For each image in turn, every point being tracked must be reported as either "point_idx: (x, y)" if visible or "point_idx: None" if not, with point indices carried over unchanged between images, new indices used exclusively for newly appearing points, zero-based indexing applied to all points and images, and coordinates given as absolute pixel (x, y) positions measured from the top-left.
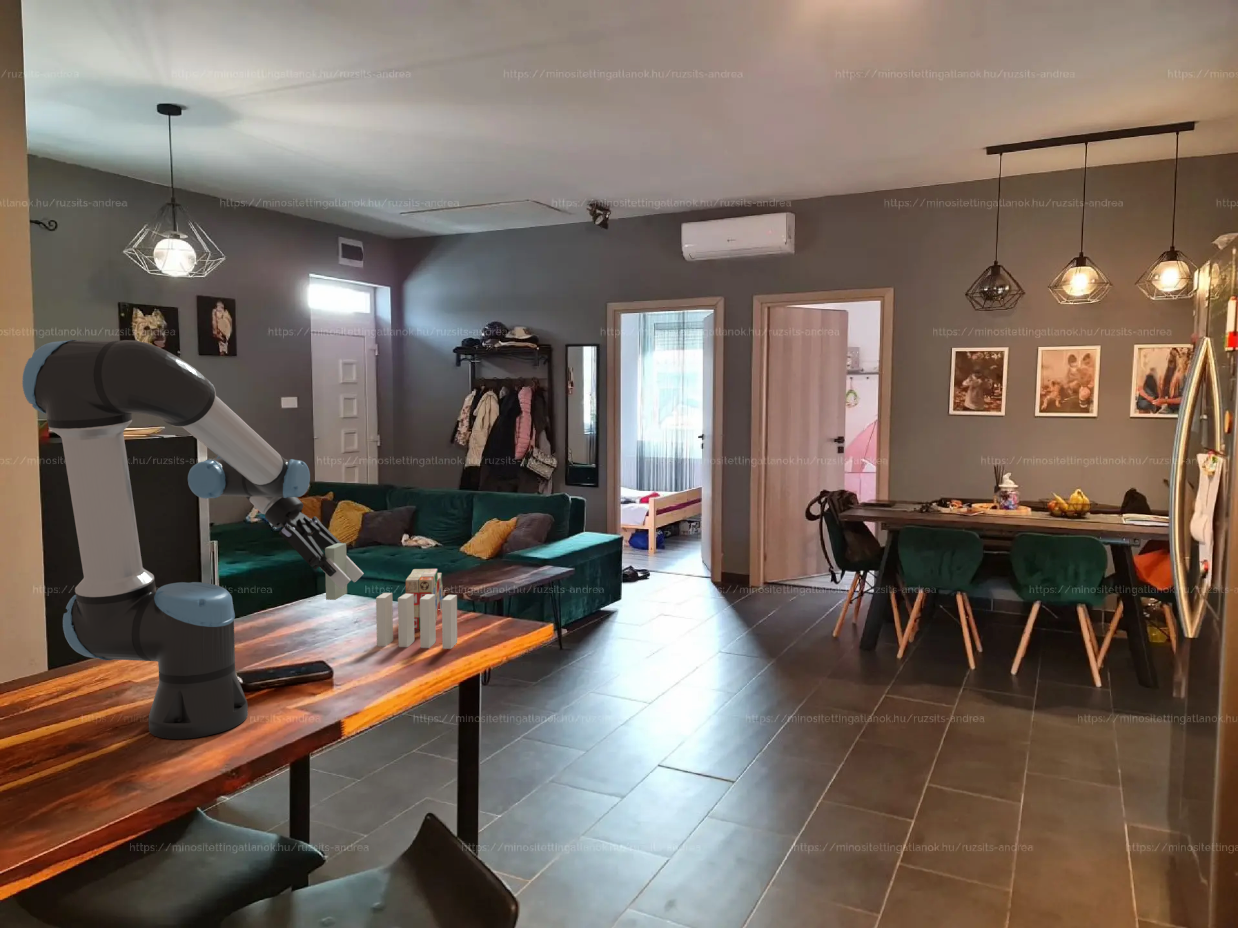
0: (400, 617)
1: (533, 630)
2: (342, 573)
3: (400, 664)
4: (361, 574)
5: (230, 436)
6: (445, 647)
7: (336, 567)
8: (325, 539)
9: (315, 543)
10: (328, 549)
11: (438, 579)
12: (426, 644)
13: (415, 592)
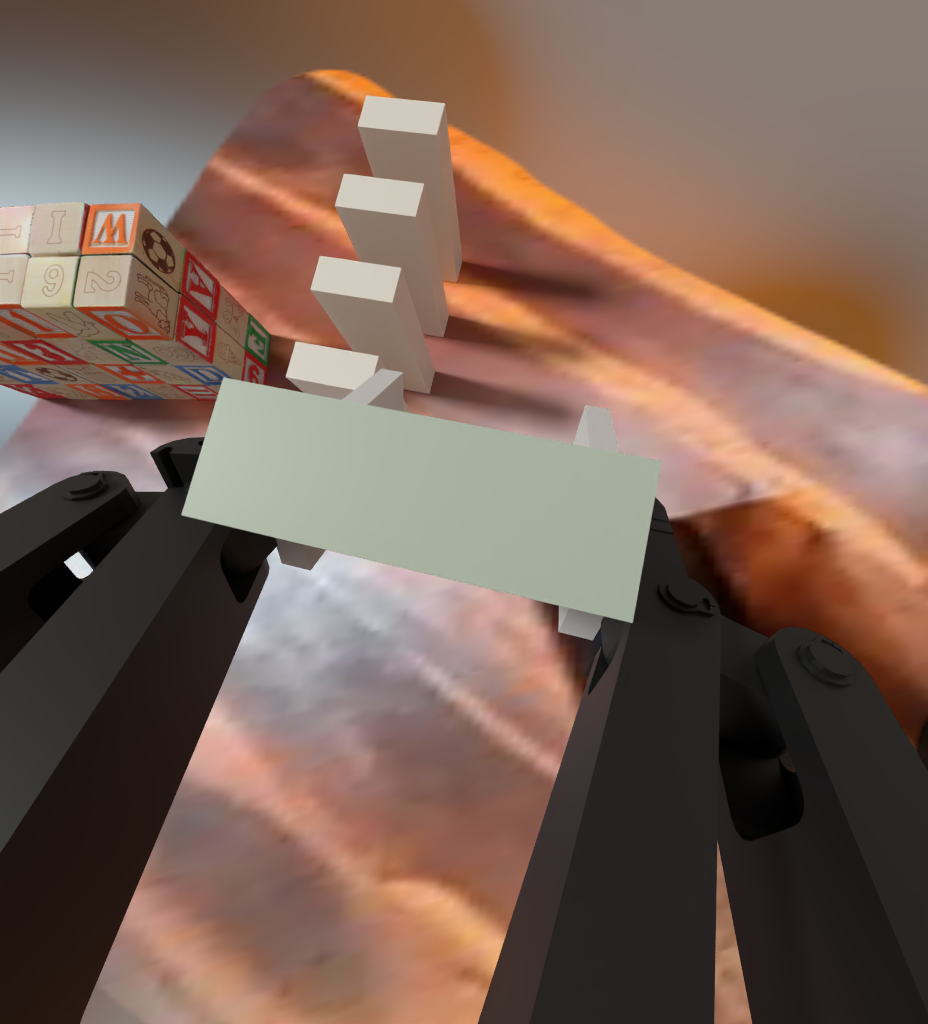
0: (413, 341)
1: (328, 90)
2: (614, 442)
3: (584, 365)
4: (402, 380)
5: None
6: (458, 273)
7: None
8: (87, 738)
9: (603, 877)
10: (636, 559)
11: None
12: (446, 316)
13: (179, 304)
